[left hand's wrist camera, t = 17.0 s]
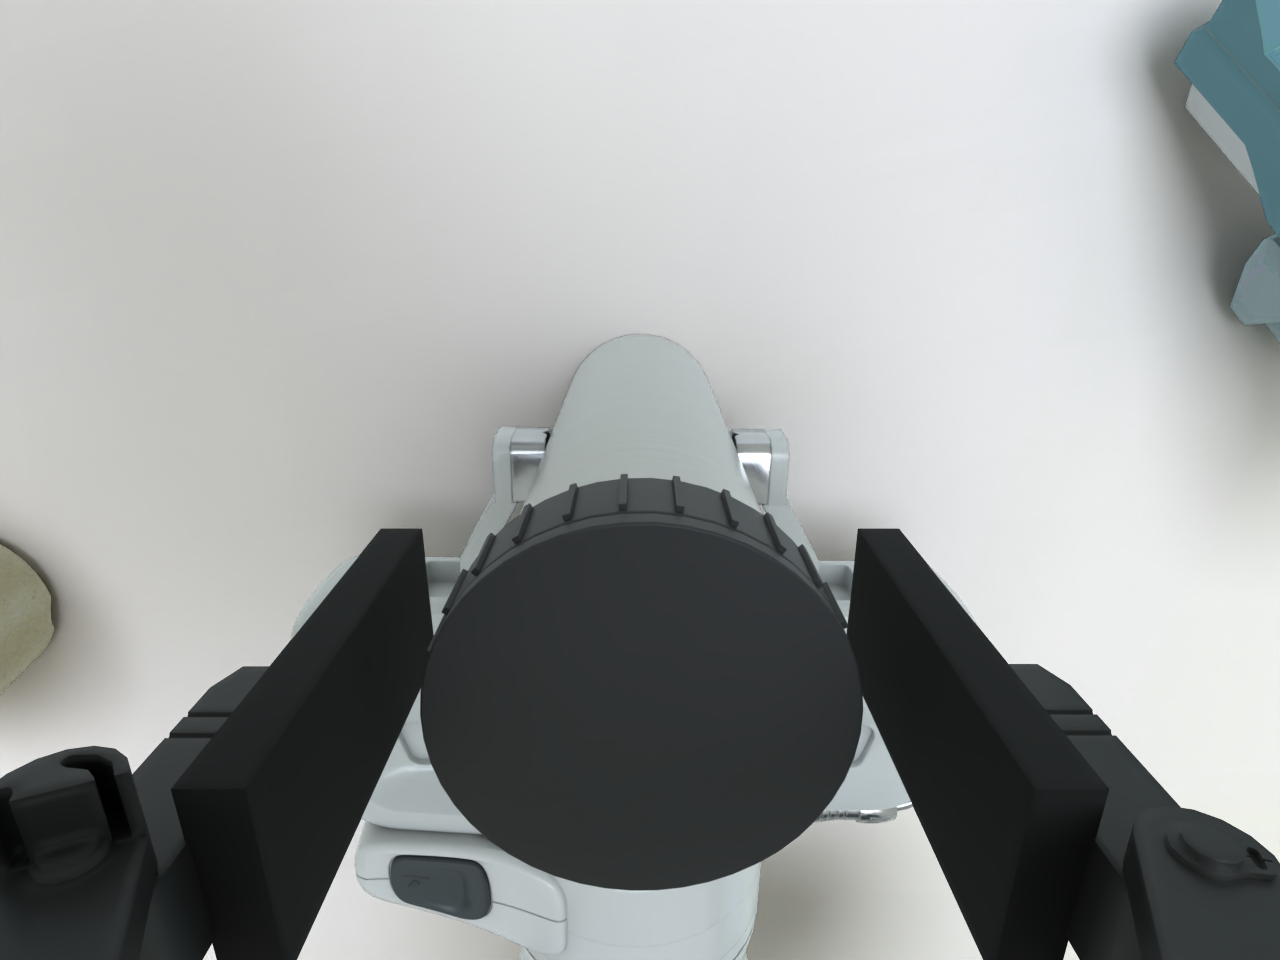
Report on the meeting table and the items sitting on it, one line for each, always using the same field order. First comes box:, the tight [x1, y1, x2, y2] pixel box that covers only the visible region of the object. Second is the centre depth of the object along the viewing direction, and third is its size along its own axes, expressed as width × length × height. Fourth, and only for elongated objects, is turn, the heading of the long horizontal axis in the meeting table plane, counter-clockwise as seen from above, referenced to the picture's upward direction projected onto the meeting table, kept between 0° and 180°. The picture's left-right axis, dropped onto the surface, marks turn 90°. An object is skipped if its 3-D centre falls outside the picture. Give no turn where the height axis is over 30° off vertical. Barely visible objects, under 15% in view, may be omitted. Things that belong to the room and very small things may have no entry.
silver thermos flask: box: [520, 334, 762, 514], centre depth 19 cm, size 5×5×17 cm
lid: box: [420, 474, 863, 891], centre depth 11 cm, size 6×6×2 cm
